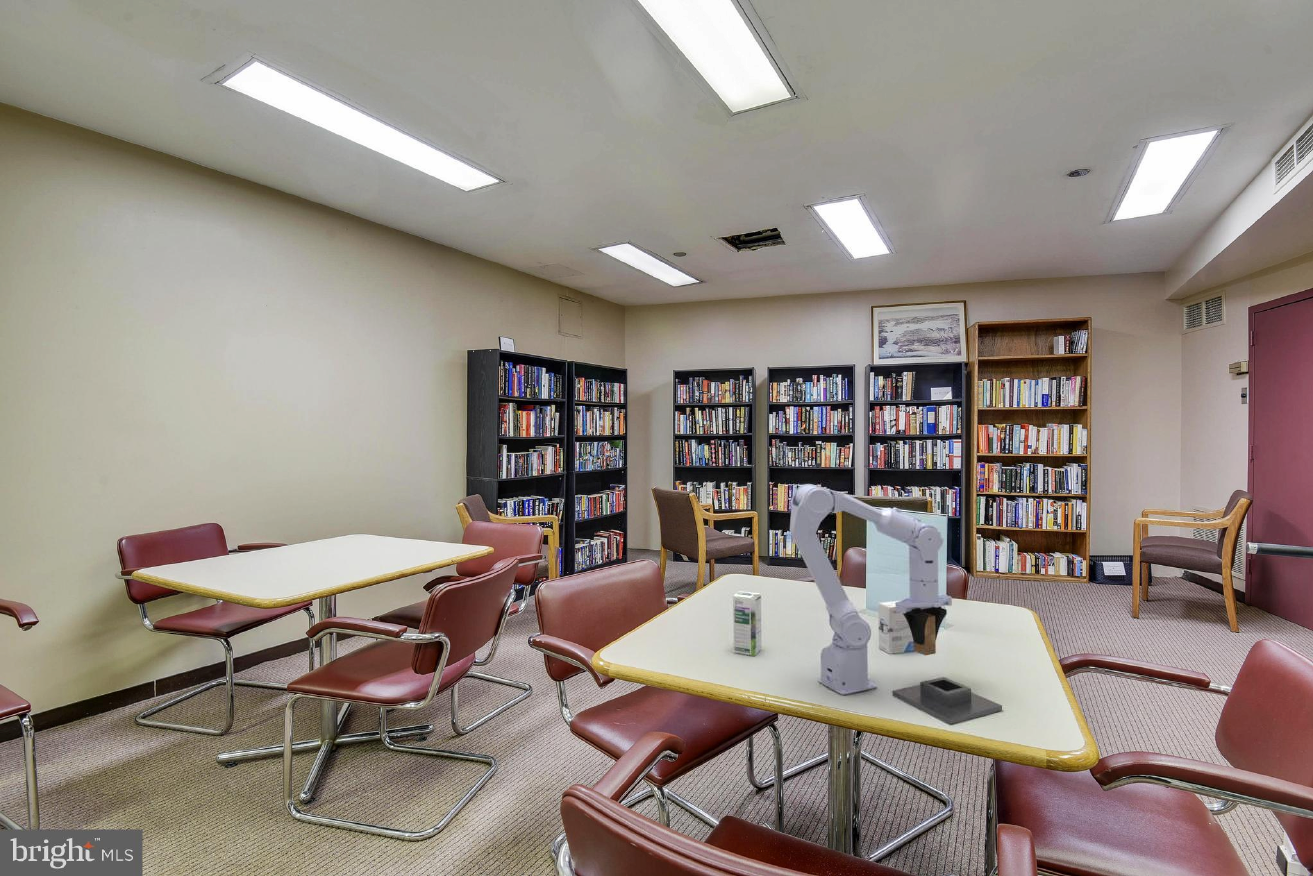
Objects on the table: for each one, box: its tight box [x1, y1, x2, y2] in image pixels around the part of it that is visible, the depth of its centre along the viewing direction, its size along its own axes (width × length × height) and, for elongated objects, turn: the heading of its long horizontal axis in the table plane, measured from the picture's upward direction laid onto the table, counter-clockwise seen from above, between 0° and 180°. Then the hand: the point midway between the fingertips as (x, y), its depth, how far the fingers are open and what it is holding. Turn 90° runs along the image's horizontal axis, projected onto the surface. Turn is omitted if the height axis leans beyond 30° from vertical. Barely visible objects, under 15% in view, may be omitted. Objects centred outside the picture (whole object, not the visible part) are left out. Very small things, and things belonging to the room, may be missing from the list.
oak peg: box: [913, 613, 937, 657], centre depth 129 cm, size 3×3×8 cm
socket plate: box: [891, 676, 1003, 725], centre depth 119 cm, size 14×14×4 cm
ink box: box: [878, 600, 915, 655], centre depth 150 cm, size 9×5×12 cm, turn 106°
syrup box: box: [732, 590, 762, 657], centre depth 150 cm, size 6×6×14 cm
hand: (924, 642), depth 129 cm, fingers closed on oak peg, 3 cm apart
